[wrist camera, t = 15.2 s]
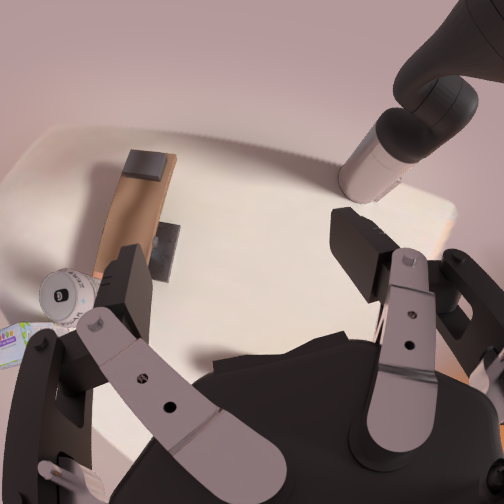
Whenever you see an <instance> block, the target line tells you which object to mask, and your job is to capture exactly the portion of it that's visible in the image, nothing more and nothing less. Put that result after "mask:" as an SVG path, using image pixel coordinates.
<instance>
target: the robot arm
mask: <svg viewBox="0 0 504 504" xmlns="http://www.w3.org/2000/svg"><path fill="white" fill-rule="evenodd" d="M459 75H461V76H469V77H474V78H479V79H484V80H489V81H494V82H500V83H504V0H459V1H458V3H457V4H456V5H455V7H454V8H453V10H452V11H451V13H450V14H449V15H448V17H447V18H446V20H445V21H444V22H443V23H442V25H441V26H440V27H439V29H438V30H437V31H436V32H435V33H434V34H433V35H432V36H431V37H430V38H429V39H428V40H427V41H426V42H425V43H424V44H423V45H422V46H421V47H420V48H419V49H418V50H417V51H416V52H415V53H414V54H413V55H412V56H411V57H410V58H409V59H408V60H407V61H406V63H405V64H404V65H403V66H402V68H401V69H400V71H399V72H398V74H397V76H396V78H395V81H394V84H393V95H394V97H395V99H396V101H397V102H398V103H399V104H400V105H401V106H402V107H403V108H404V109H403V108H390V109H388V110H386V111H385V112H384V113H383V114H382V115H381V116H380V117H379V119H378V120H377V122H376V123H375V124H374V125H373V127H372V128H371V129H370V131H369V132H368V134H367V135H366V136H365V138H364V139H363V140H362V142H361V143H360V144H359V146H358V147H357V148H356V150H355V151H354V152H353V154H352V155H351V156H350V158H349V159H348V160H347V162H346V163H345V164H344V165H343V167H342V168H341V170H340V172H339V176H338V181H339V185H340V187H341V190H342V191H343V193H344V194H345V195H346V196H347V197H348V198H349V199H351V200H352V201H354V202H357V203H361V204H366V203H370V202H372V201H379V200H380V199H381V198H383V197H384V196H385V195H386V194H388V193H389V192H390V191H391V190H392V189H394V188H395V187H396V186H397V185H399V184H400V183H401V177H402V176H403V175H404V174H405V173H406V172H407V171H408V170H410V169H411V168H412V167H413V166H414V165H415V164H417V163H418V162H419V161H420V160H421V159H423V158H426V157H427V156H429V155H430V154H431V153H432V152H434V151H435V150H436V149H437V148H439V147H440V146H441V145H443V144H444V143H445V142H447V141H448V140H449V139H451V138H452V137H454V136H455V135H456V134H457V133H458V132H460V131H461V130H462V129H463V128H464V127H465V126H466V125H467V124H468V123H469V122H470V120H471V119H472V117H473V116H474V114H475V112H476V109H477V107H478V101H479V100H478V95H477V93H476V91H475V90H474V89H473V87H472V86H471V85H470V84H468V83H467V82H466V81H465V80H464V79H463V78H461V77H460V76H459ZM330 249H331V252H332V254H333V255H334V257H335V258H336V260H337V261H338V262H339V264H340V265H341V266H342V268H343V269H344V270H345V272H346V273H347V274H348V276H349V277H350V279H351V280H352V281H353V283H354V284H355V286H356V287H357V288H358V290H359V291H360V293H361V294H362V295H363V297H364V298H365V300H366V301H367V303H368V304H369V303H372V302H375V301H380V303H381V304H380V307H379V312H378V317H377V322H376V327H375V332H374V337H373V342H371V341H366V340H358V339H348V337H347V336H346V334H345V332H344V331H341V332H337V333H334V334H330V335H327V336H323V337H319V338H316V339H313V340H311V341H309V342H307V343H305V344H303V345H301V346H299V347H297V348H295V349H293V350H291V351H289V352H287V353H285V354H279V355H243V356H238V357H233V358H228V359H222V360H217V361H213V368H214V371H213V372H211V373H208V374H206V375H205V376H203V377H201V378H200V379H198V380H197V381H195V382H194V383H193V384H192V385H191V384H189V383H188V382H187V381H186V380H185V379H184V378H183V377H182V376H180V375H179V374H178V373H177V372H176V371H175V370H174V369H173V368H172V367H171V366H169V365H168V364H167V363H166V362H165V361H164V360H163V359H162V358H161V357H160V356H159V355H158V354H157V353H156V352H155V351H154V350H153V349H152V348H151V347H150V346H149V345H148V344H149V327H150V313H151V301H152V290H153V285H152V278H151V274H150V271H149V268H148V266H147V263H146V260H145V257H144V254H143V251H142V248H141V245H140V244H139V243H136V244H131V245H126V246H122V247H121V249H120V252H119V255H118V258H117V260H113V261H111V262H110V264H109V265H108V266H107V267H106V268H105V270H104V273H103V276H102V279H101V283H100V287H99V289H98V292H97V296H96V299H95V302H94V306H93V309H91V310H89V311H87V312H86V313H84V314H83V315H82V316H81V317H80V319H79V320H78V322H77V325H76V330H74V331H72V332H69V333H67V334H65V335H62V336H60V337H58V335H57V334H56V332H55V331H54V330H52V329H50V328H45V329H41V330H39V331H37V332H36V333H35V334H34V335H32V337H31V338H30V339H29V341H28V342H27V345H26V348H25V352H24V355H23V358H22V362H21V366H20V369H19V373H18V377H17V381H16V385H15V390H14V394H13V399H12V404H11V409H10V414H9V420H8V427H7V433H6V441H5V450H4V461H3V478H2V501H3V504H504V453H503V449H502V444H501V437H500V426H499V425H504V291H503V290H502V289H501V288H500V287H499V286H498V285H497V284H496V283H495V282H494V280H492V279H491V277H490V276H489V275H488V274H487V273H486V272H485V271H484V270H483V269H482V268H481V267H480V266H479V265H478V264H477V263H476V262H475V261H474V260H473V259H472V258H471V257H470V256H469V255H467V254H466V253H465V252H462V251H460V250H457V249H447V250H445V251H444V253H443V256H442V259H441V260H427V259H426V257H425V256H424V255H423V254H422V253H420V252H419V251H417V250H414V249H411V248H400V247H399V246H398V245H397V244H396V243H395V242H394V241H393V240H392V239H391V238H390V237H389V236H388V235H387V234H386V233H385V234H384V232H383V231H382V230H381V229H380V228H379V227H378V226H377V225H376V224H375V223H374V222H373V221H371V220H369V219H367V218H365V217H363V216H360V215H359V214H357V213H356V212H355V211H354V210H353V209H352V208H351V207H344V208H337V209H333V210H332V212H331V224H330ZM461 295H463V297H464V298H465V299H466V300H467V301H468V303H469V304H470V305H471V307H472V310H473V317H472V319H471V321H470V319H469V318H468V317H467V316H466V314H465V313H464V312H463V310H462V309H461V308H460V307H459V305H458V302H459V299H460V297H461ZM436 328H437V330H438V331H439V333H440V334H441V335H442V337H443V339H444V340H445V342H446V343H447V345H448V346H449V348H450V349H451V351H452V352H453V354H454V355H455V357H456V358H457V360H458V362H459V363H460V365H461V366H462V368H463V370H464V371H465V373H466V374H467V376H468V378H469V384H470V386H469V385H467V384H465V383H462V382H460V381H458V380H456V379H454V378H451V377H449V376H447V375H445V374H442V373H440V372H438V371H436V370H435V369H434V368H435V348H436V347H435V346H436ZM108 382H110V383H111V385H112V386H113V387H114V389H115V390H116V391H117V393H118V394H119V395H120V397H121V398H122V399H123V400H124V402H125V403H126V404H127V405H128V407H129V408H130V409H131V410H132V412H133V413H134V414H135V415H136V416H137V418H138V419H139V420H140V421H141V422H142V423H143V425H144V426H145V427H146V428H147V429H148V430H149V431H150V432H151V434H152V435H153V437H152V438H151V440H150V441H149V443H148V444H147V445H146V447H145V448H144V450H143V451H142V452H141V454H140V455H139V457H138V458H137V459H136V461H135V462H134V464H133V465H132V466H131V468H130V469H129V471H128V472H127V473H126V475H125V476H124V477H123V479H122V480H121V482H120V483H119V484H118V486H117V487H116V489H115V490H114V491H113V493H112V495H111V497H110V499H109V498H108V496H107V495H106V492H105V488H104V485H103V482H102V480H101V478H100V477H99V476H98V475H97V474H96V473H95V472H93V471H92V460H91V459H92V458H91V425H92V401H93V388H95V387H97V386H100V385H103V384H105V383H108ZM57 388H58V389H57ZM56 391H57V396H56Z"/></svg>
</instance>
